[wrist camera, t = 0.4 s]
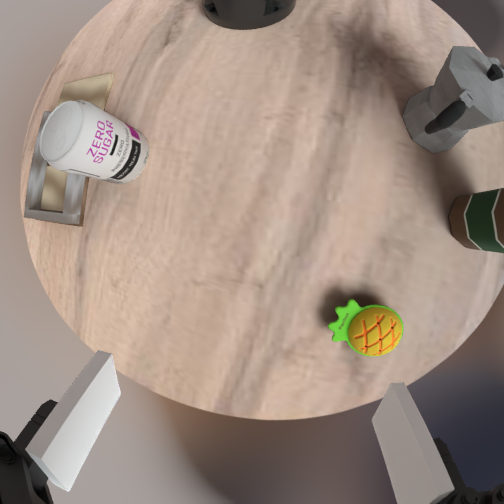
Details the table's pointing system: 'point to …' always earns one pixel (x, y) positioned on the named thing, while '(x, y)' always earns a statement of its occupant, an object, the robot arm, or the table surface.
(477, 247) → the beer bottle
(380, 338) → the pineapple toy
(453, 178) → the table surface
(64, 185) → the rectangular tray
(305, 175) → the table surface
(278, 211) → the table surface
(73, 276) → the table surface
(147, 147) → the supplement can
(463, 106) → the coffeepot
